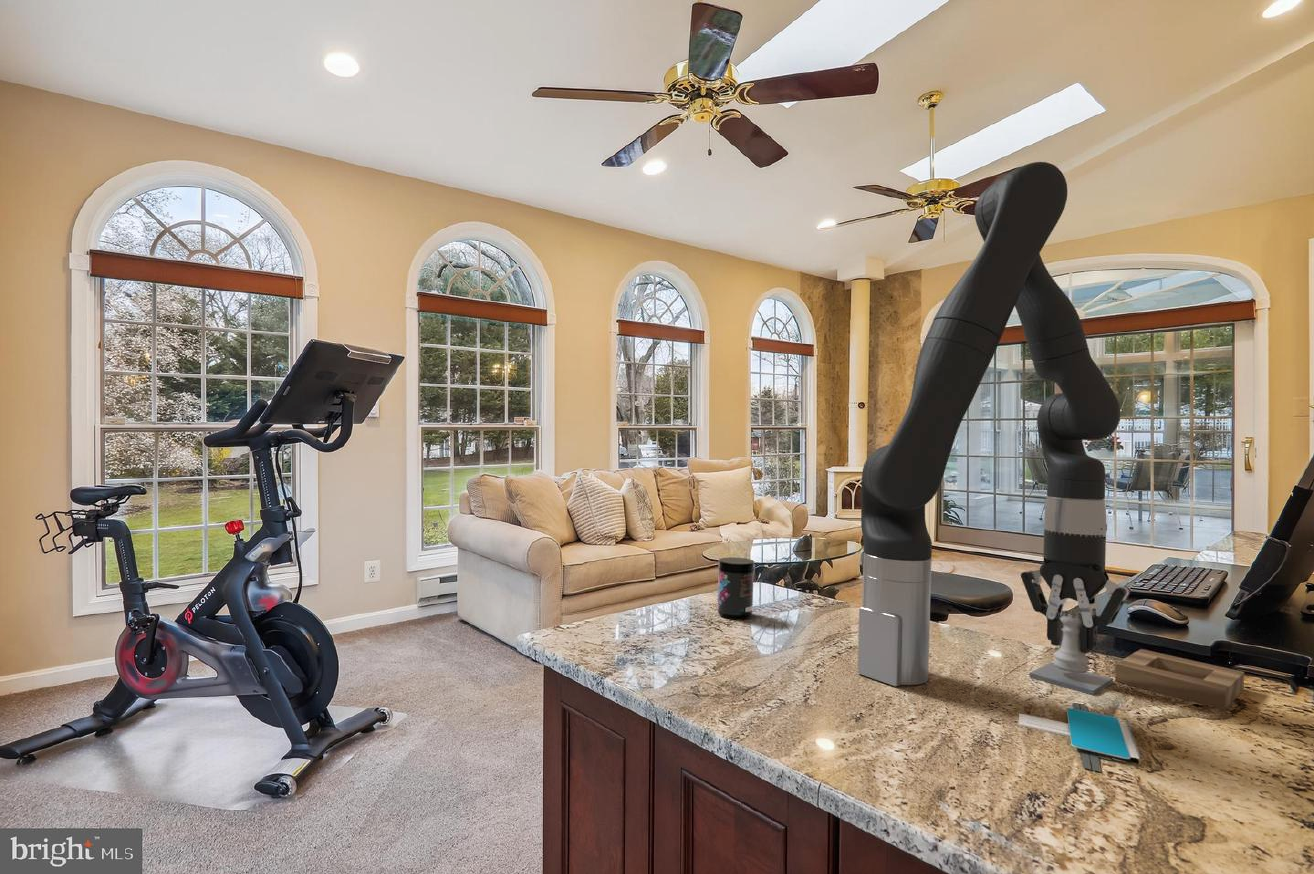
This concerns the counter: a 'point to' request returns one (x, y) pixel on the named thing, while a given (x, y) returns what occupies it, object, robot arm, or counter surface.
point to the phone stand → (1090, 735)
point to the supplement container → (735, 588)
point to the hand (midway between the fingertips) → (1071, 647)
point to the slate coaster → (1072, 679)
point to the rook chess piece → (1071, 645)
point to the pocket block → (1181, 678)
